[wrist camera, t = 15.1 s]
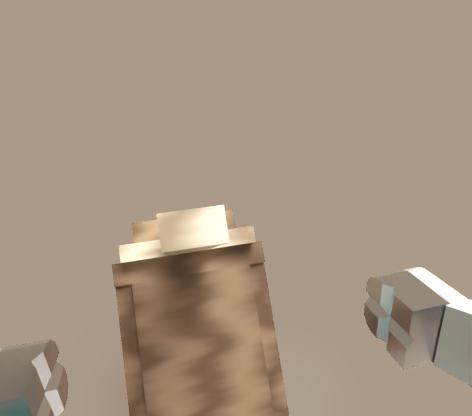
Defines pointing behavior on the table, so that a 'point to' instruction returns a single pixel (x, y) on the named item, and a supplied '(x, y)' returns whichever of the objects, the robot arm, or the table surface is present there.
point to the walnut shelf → (199, 334)
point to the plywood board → (185, 233)
